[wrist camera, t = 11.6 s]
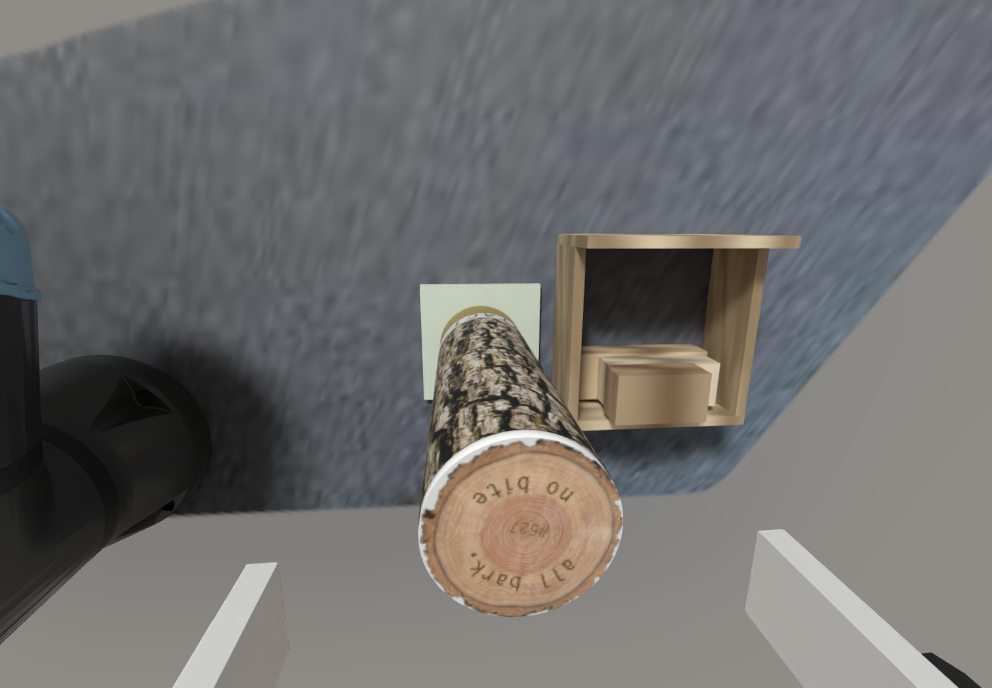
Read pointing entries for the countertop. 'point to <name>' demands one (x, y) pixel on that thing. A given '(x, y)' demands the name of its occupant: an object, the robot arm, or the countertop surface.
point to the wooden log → (509, 478)
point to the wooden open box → (725, 322)
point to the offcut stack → (649, 382)
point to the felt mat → (454, 298)
